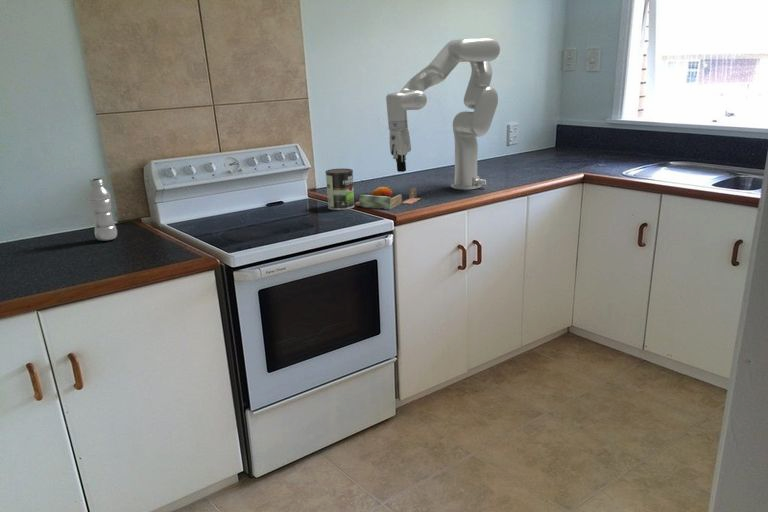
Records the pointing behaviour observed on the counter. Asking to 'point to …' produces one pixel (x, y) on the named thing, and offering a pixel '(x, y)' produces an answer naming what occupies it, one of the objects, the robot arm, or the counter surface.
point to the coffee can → (340, 189)
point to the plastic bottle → (102, 210)
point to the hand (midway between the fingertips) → (401, 171)
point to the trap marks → (409, 201)
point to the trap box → (384, 200)
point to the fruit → (382, 192)
